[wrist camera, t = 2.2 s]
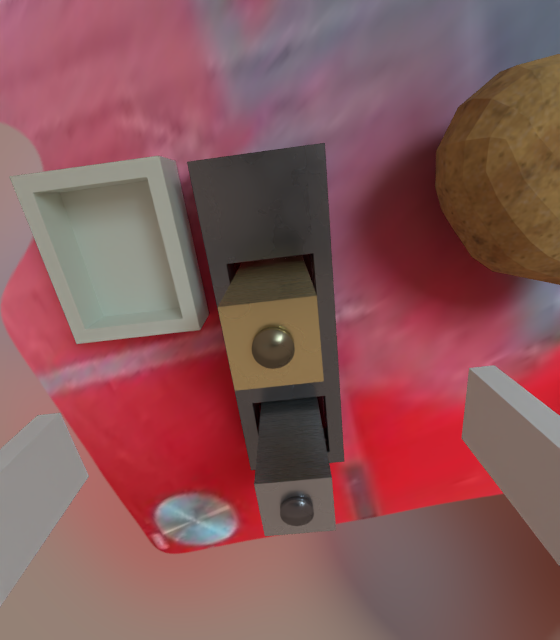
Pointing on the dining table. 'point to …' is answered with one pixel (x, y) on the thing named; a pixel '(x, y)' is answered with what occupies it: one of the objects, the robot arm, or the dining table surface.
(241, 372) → the block with metal knob
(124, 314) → the parts tray
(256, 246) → the rail
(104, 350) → the dining table surface
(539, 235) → the potato
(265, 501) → the square rod with stud
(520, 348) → the dining table surface
